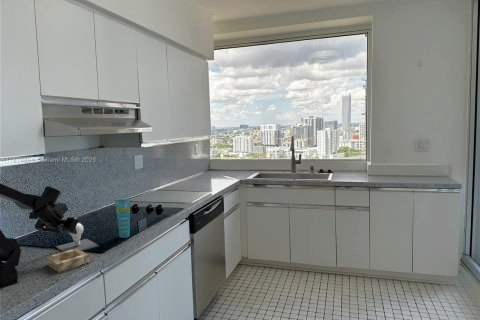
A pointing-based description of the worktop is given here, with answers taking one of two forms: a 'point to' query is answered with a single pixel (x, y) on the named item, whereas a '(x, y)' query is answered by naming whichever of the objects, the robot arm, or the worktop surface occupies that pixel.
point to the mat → (83, 246)
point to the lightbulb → (77, 236)
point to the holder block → (67, 260)
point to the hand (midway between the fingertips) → (67, 232)
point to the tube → (123, 217)
